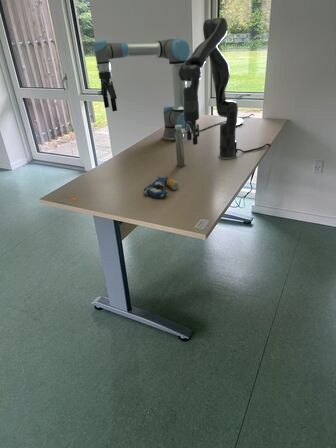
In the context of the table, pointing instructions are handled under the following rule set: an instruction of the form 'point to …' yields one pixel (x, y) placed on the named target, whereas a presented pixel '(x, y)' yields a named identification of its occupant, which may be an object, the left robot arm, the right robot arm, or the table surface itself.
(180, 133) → the bottle
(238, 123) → the spoon
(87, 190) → the table surface
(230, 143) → the right robot arm
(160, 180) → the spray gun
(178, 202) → the table surface
